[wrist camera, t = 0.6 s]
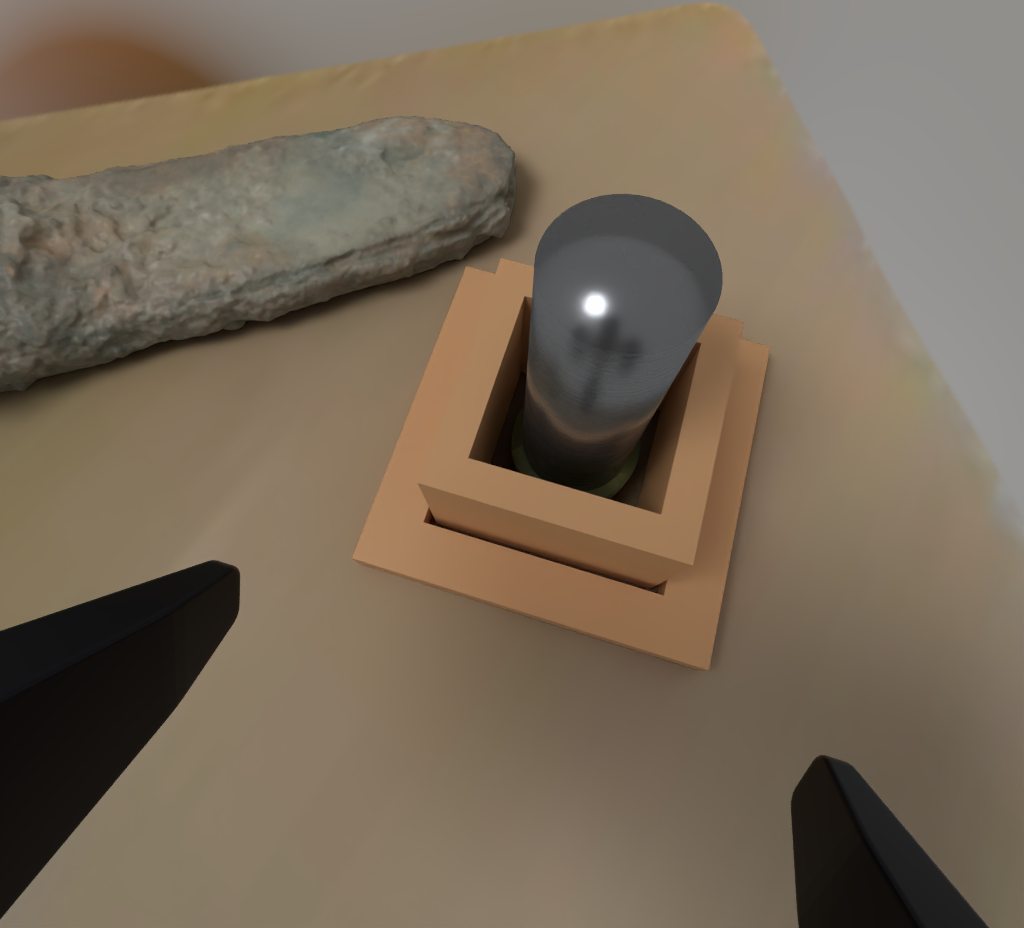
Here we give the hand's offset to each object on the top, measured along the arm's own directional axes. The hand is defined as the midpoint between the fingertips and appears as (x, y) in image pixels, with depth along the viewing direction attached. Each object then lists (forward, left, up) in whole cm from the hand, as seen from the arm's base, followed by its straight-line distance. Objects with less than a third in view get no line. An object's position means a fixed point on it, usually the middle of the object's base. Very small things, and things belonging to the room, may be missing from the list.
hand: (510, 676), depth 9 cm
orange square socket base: (+7, -4, -13) cm, 16 cm away
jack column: (+7, -4, -13) cm, 16 cm away
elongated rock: (+19, +12, -14) cm, 27 cm away
